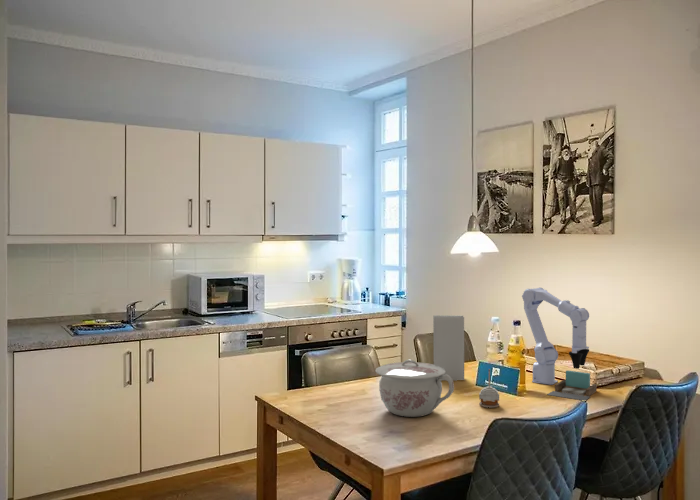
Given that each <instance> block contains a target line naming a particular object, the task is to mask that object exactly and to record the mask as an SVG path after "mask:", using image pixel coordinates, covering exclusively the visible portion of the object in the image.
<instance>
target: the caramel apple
mask: <svg viewBox="0 0 700 500" xmlns="http://www.w3.org/2000/svg"><path fill="white" fill-rule="evenodd" d="M478 394H479V395H478V397H479V398H478V399H479V400H480V401H479V406H480V407H484V408H488V407H489V408H490V409H491V408H498V407H500V403H499V401H500V393H499V391H498V390H497V389H496V388H495V387H493V386H491V369H490V368H488V386H486V387H483V388H482V389H481V390H480V392H479V393H478Z"/></svg>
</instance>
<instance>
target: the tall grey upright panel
mask: <svg viewBox="0 0 700 500" xmlns="http://www.w3.org/2000/svg"><path fill="white" fill-rule="evenodd" d="M432 325H433V328H432V329H433V365H436V366H440V367H442V368H443V369H445V371H446V373H445V374H444V375H446V374H447V375H448V376H450V377H451V379H452V380H453V381H457V380H464V381H465V317H464V315H433V324H432ZM444 375H442V376H444ZM439 377H440V376H439Z"/></svg>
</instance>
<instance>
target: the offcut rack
mask: <svg viewBox="0 0 700 500" xmlns="http://www.w3.org/2000/svg"><path fill="white" fill-rule="evenodd" d="M597 386H598V385H597V384H596V383H593V384H591V385H590V387H589V388H587V389H585V388H578V387H571V386H566V379H563V380H561V381H559V382H556V383H555V384H554V391H556V392H561V391H562V389H564V388H565V387H567V388H574V389H581V390H586V394H585V396H589V397H591V396H592V395H594V394H595V393H596V392H597Z"/></svg>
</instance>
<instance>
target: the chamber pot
mask: <svg viewBox="0 0 700 500" xmlns="http://www.w3.org/2000/svg"><path fill="white" fill-rule="evenodd" d="M375 373H376V374H377V375H378V376H381V377H380V380H379V382H378V383H379V384H378V385H379V388H378V389H379V395H380V399H381V401H382V403H383V405H384V406H385V408H386V409H387V410H388V411H389V412H390V413H391V414H394V415H397V416H399V417H403V416H404V417H405V418H418V417H423V416H427V415H429V414H431V413H432V412H433V411H435V410H436V409H437V407H438V406H439V405H440V404H441V403H442V402H443V401H445V400H447V399H449V398H450V397H451V395H452V394H453V392H454V390H455V385H454V383H455V382H454V380H452V379H451V377H450V376H448V375H447V374H446V375H444V374H445V373H446V371H445V369H443V368H442V367H440V366H436V365H434V363H426V362H417V361H415V360H412V359H406V360H404V361H401V362H398V361H397V362H391V363H387V364H383V365H380V366H377V367H376V368H375ZM442 375H444V376H442ZM439 376H440V377H439ZM442 381H446V382H448V392H447V393H446V394H445V395H444V396H442V393H443V383H442ZM441 396H442V397H441Z"/></svg>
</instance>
